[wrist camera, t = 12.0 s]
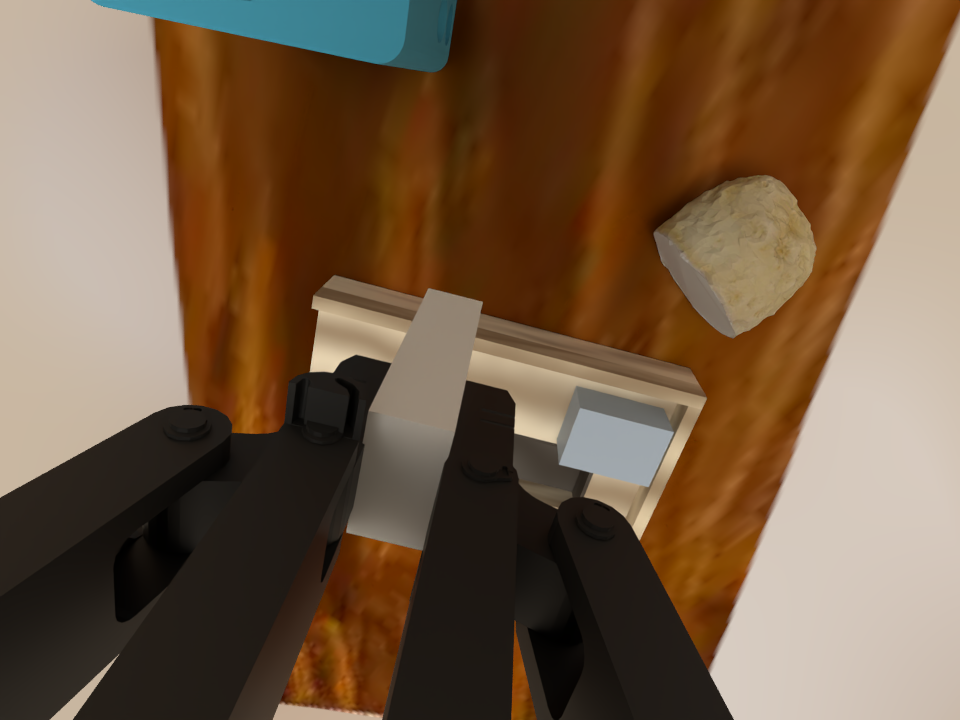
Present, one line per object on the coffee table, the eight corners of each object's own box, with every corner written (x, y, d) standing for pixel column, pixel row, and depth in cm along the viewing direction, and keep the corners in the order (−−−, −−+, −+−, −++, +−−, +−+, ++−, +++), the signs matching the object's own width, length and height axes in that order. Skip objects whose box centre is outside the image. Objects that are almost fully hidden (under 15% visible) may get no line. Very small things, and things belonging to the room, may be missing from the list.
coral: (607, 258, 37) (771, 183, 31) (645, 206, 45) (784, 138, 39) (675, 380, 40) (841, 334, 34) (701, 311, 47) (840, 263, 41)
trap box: (334, 275, 46) (313, 295, 42) (689, 368, 48) (707, 397, 43) (310, 434, 53) (289, 466, 48) (624, 512, 54) (633, 551, 49)
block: (576, 385, 46) (580, 408, 42) (663, 408, 46) (674, 432, 43) (556, 439, 48) (558, 464, 44) (640, 460, 48) (648, 487, 45)
